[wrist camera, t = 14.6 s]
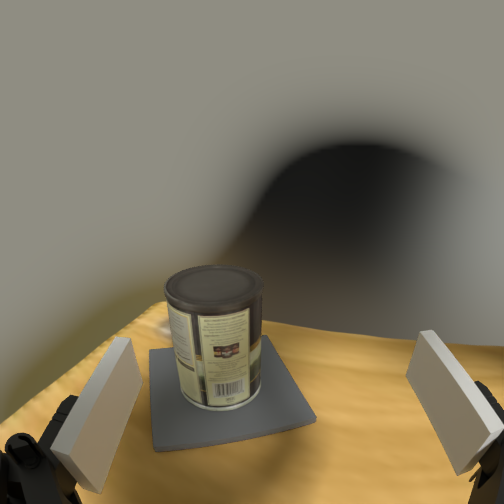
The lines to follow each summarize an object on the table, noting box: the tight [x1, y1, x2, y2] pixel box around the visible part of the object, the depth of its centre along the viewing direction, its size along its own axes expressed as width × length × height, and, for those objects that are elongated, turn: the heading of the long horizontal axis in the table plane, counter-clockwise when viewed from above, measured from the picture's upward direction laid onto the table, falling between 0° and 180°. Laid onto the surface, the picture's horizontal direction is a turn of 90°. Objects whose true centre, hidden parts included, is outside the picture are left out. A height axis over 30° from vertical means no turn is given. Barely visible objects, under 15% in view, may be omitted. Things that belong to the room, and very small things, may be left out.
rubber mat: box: [149, 335, 316, 452], centre depth 36 cm, size 18×18×1 cm
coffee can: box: [164, 265, 264, 411], centre depth 34 cm, size 10×10×14 cm
